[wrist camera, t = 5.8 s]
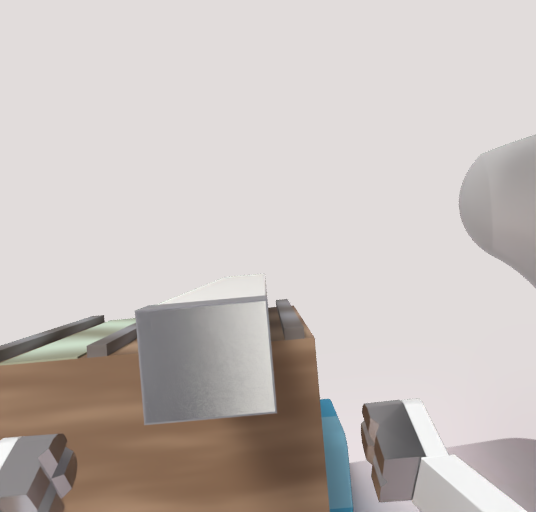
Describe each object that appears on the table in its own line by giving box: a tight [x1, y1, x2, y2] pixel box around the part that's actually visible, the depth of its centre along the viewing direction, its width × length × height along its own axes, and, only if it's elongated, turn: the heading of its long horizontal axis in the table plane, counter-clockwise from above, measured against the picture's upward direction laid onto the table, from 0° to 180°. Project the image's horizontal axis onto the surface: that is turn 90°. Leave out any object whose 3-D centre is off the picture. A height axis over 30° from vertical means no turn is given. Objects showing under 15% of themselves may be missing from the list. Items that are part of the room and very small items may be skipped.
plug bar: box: [135, 274, 277, 425], centre depth 22 cm, size 23×4×3 cm, turn 0°
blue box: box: [320, 399, 353, 512], centre depth 44 cm, size 12×4×12 cm, turn 179°
